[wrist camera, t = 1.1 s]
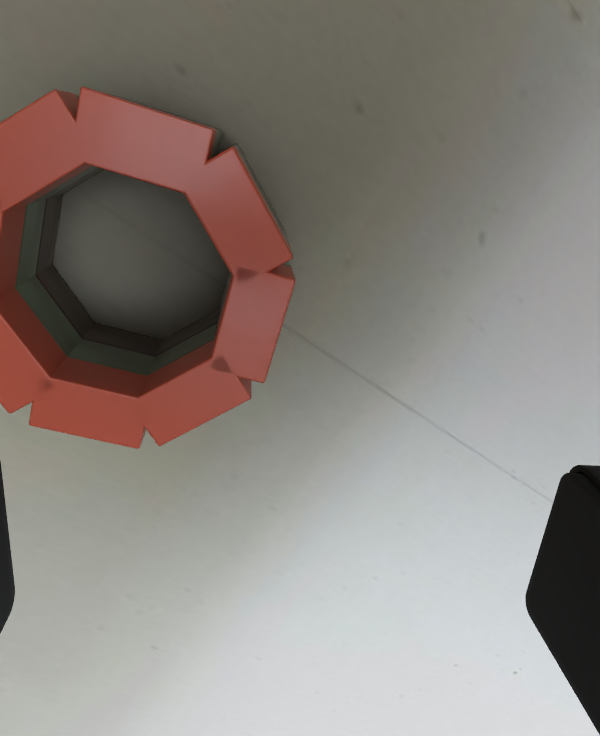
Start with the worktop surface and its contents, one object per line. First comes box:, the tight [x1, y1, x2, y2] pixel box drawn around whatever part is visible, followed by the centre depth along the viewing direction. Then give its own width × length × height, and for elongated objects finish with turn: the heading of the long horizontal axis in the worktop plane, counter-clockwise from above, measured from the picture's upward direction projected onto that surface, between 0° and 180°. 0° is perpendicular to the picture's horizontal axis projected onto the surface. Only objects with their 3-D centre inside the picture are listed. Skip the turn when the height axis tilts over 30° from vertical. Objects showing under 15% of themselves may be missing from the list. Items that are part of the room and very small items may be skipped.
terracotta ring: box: [0, 87, 296, 449], centre depth 19 cm, size 11×11×2 cm
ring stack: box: [15, 93, 291, 376], centre depth 22 cm, size 11×11×4 cm
